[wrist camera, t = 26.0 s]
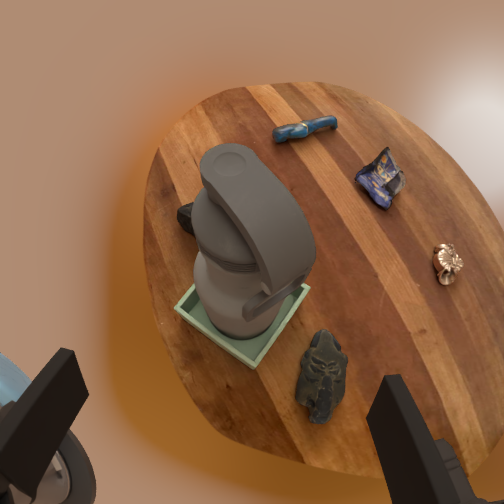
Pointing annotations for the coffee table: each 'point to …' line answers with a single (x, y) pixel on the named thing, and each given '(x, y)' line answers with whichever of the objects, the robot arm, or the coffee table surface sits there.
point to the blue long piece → (303, 128)
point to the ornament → (447, 263)
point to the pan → (240, 349)
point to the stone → (322, 377)
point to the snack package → (382, 179)
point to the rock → (186, 217)
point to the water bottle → (247, 242)
